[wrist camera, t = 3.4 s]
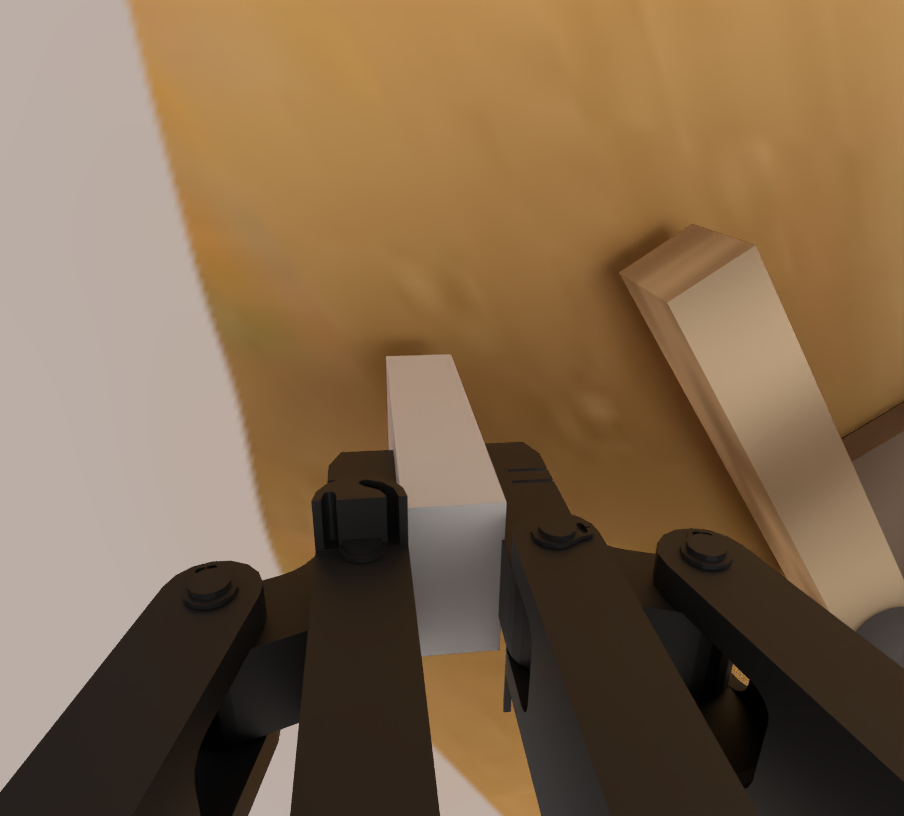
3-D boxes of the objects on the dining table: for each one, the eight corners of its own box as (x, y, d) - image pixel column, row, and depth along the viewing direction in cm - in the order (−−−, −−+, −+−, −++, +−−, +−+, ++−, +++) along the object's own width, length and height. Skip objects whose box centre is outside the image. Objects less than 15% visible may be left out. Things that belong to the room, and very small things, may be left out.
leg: (866, 579, 21) (957, 662, 18) (803, 615, 21) (881, 703, 18) (695, 221, 16) (779, 249, 13) (615, 274, 16) (677, 315, 13)
